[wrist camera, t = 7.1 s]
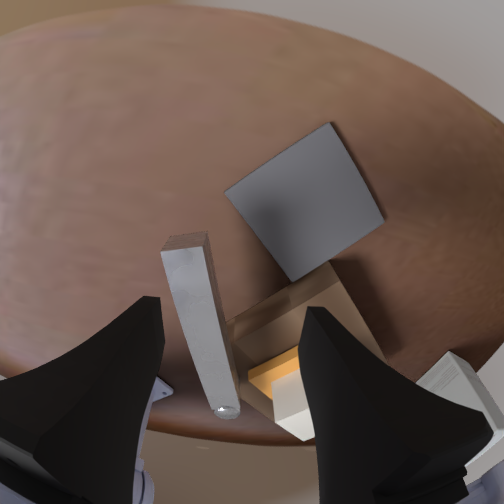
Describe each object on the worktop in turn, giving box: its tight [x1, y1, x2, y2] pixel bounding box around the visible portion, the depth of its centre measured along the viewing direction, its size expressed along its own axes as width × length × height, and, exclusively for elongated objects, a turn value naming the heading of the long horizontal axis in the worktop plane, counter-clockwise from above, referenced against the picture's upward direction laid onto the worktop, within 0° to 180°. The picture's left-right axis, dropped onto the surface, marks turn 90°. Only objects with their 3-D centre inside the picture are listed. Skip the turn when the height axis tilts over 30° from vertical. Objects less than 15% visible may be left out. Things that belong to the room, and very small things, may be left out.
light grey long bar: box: [160, 231, 240, 419], centre depth 17 cm, size 13×2×3 cm, turn 7°
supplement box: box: [416, 351, 504, 467], centre depth 22 cm, size 7×7×13 cm
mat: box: [224, 122, 384, 283], centre depth 19 cm, size 8×8×1 cm
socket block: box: [226, 261, 389, 426], centre depth 23 cm, size 12×12×3 cm
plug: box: [248, 346, 315, 441], centre depth 20 cm, size 6×6×8 cm
